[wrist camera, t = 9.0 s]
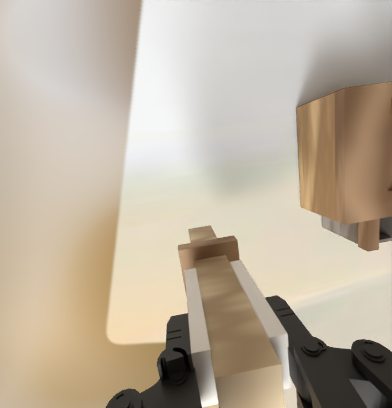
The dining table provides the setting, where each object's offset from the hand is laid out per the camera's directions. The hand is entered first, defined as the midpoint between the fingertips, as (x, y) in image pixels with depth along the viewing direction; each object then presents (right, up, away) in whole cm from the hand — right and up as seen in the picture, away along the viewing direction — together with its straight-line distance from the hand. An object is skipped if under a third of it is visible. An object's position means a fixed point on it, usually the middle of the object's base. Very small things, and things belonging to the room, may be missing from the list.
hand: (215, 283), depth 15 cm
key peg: (-1, +2, +9) cm, 9 cm away
